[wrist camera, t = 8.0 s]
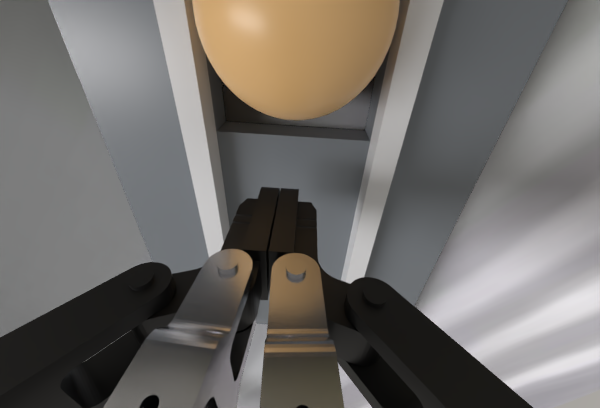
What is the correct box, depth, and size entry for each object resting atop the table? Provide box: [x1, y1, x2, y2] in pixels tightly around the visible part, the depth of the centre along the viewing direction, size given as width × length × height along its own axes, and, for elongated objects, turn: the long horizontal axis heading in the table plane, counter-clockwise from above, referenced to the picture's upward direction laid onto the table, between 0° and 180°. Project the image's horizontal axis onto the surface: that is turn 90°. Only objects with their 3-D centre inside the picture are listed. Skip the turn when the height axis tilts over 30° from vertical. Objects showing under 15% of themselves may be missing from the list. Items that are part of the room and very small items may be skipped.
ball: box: [192, 0, 400, 120], centre depth 8 cm, size 6×6×6 cm
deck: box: [48, 0, 568, 324], centre depth 13 cm, size 18×26×3 cm
